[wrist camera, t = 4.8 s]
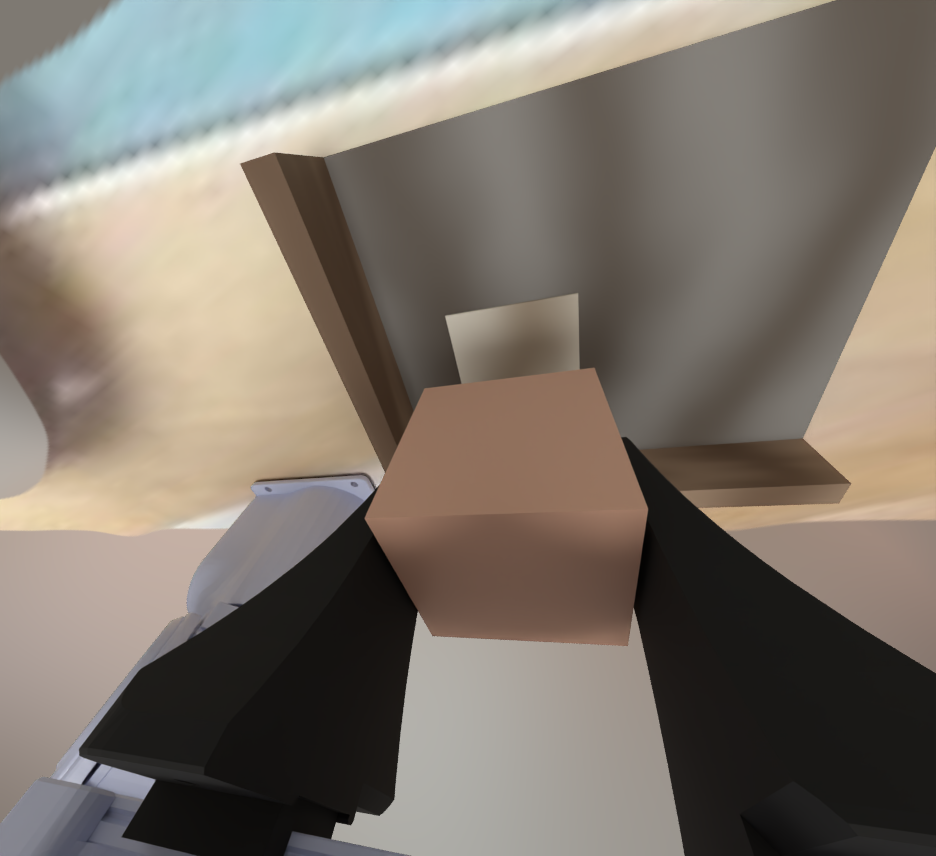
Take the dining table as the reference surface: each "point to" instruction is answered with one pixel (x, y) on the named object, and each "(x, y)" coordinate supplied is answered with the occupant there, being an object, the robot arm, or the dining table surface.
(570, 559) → the cube
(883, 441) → the dining table surface
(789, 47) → the tray
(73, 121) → the dining table surface
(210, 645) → the robot arm
